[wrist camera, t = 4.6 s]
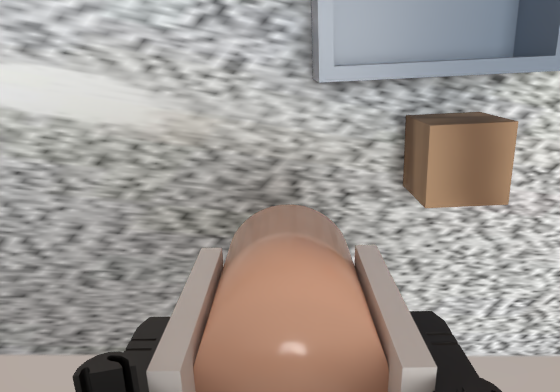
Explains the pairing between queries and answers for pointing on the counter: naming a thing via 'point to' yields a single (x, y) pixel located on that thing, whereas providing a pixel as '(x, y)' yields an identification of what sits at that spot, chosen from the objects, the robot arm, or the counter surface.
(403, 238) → the counter surface
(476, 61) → the tote
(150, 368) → the robot arm
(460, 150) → the walnut cube
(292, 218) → the peach rounded cylinder
